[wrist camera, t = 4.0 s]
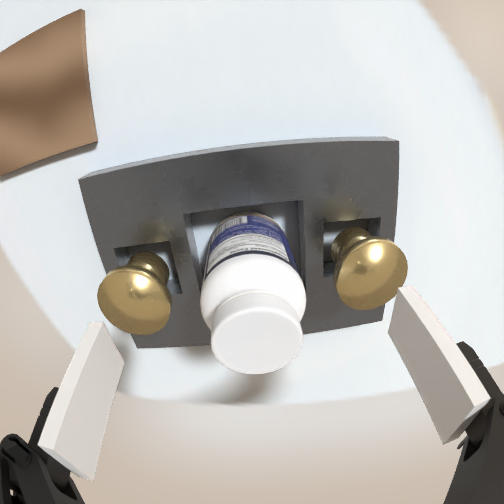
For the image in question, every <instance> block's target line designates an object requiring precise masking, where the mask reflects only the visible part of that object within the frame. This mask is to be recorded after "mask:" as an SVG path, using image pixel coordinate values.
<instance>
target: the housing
mask: <svg viewBox="0 0 504 504" xmlns="http://www.w3.org/2000/svg"><path fill="white" fill-rule="evenodd" d="M78 180H79V184H80V189H81V193H82V196H83V200H84V204H85V208H86V211H87V215H88V218H89V222H90V225H91V229H92V232H93V235H94V238H95V241H96V245H97V248H98V251H99V254H100V257H101V260H102V263H103V265H104V268H105V271H106V274H108V273H109V272H110V271H111V270H112V269H114V268H116V267H119V266H124V265H126V264H127V263H128V261H129V259H130V258H129V255H128V252H127V248H126V247H127V246H134V245H141V244H149V243H156V242H163V241H170V245H171V250H172V254H173V258H174V262H175V266H176V270H177V273H178V277H179V279H174V280H168V283H167V287H168V289H169V291H170V294H171V298H172V308H171V311H170V315H169V319H168V321H167V323H166V324H165V326H164V327H163V328H162V329H160V330H159V331H157V332H155V333H152V334H148V335H137V334H131V336H132V338H133V340H134V342H135V344H136V347H137V348H162V347H182V346H198V345H211V330H210V329H209V327H208V326H207V324H206V323H205V321H204V319H203V316H202V313H201V306H200V298H201V290H202V284H203V276H202V272H201V267H200V263H199V258H198V253H197V248H196V243H195V238H194V233H193V228H192V223H191V218H190V213H194V212H202V211H209V210H217V209H225V208H233V207H241V206H250V205H259V204H268V203H277V202H287V201H297V200H298V216H299V238H300V265H301V279H302V282H303V285H304V289H305V293H306V307H305V311H304V315H303V317H302V319H301V321H300V324H301V328H302V333H303V334H309V333H316V332H322V331H328V330H334V329H340V328H346V327H351V326H357V325H362V324H368V323H373V322H378V321H382V318H383V313H384V308H385V304H383V305H382V306H379V307H377V308H374V309H370V310H357V309H353V308H351V307H349V306H347V305H346V304H345V303H344V302H343V301H342V300H341V298H340V296H339V294H338V292H337V290H336V288H335V285H334V279H333V275H334V269H335V266H336V264H335V262H334V261H330V262H323V223H325V222H335V221H345V220H355V219H365V218H369V224H368V233H369V234H370V235H371V236H372V237H374V236H378V237H384V238H387V239H389V240H391V241H392V242H393V243H394V237H395V226H396V215H397V200H398V180H399V141H398V140H394V139H391V138H387V137H335V138H312V139H296V140H283V141H271V142H261V143H251V144H242V145H234V146H226V147H218V148H211V149H204V150H198V151H191V152H185V153H179V154H174V155H168V156H163V157H157V158H152V159H147V160H142V161H137V162H133V163H128V164H124V165H119V166H115V167H111V168H107V169H102V170H98V171H94V172H91V173H89V174H87V175H86V176H84V177H82V178H80V179H78Z"/></svg>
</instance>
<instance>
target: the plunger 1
mask: <svg viewBox="0 0 504 504" xmlns="http://www.w3.org/2000/svg"><path fill="white" fill-rule="evenodd" d="M168 280H169V268H168V266H167V264H166V263H165V261H164V260H163V259H162V258H161V257H159V256H158V255H156V254H154V253H151V252H139V253H136V254H134V255H133V256H132V257H131V258H130V259H129V261H128V263H127V264H126V265H124V266H119V267H116V268H114V269H112V270H111V271H110V272H109V273H108V274H107V275H106V277H105V278H104V280H103V281H102V283H101V284H100V286H99V289H98V294H97V298H98V304H99V307H100V309H101V311H102V313H103V314H104V316H105V317H106V318H107V319H108V320H109V321H110V322H111V323H112V324H113V325H114V326H116V327H117V328H119V329H121V330H123V331H125V332H128V333H131V334H137V335H148V334H152V333H155V332H157V331H159V330H160V329H162V328H163V327H164V326H165V324H166V323H167V321H168V319H169V315H170V311H171V308H172V298H171V294H170V291H169V289H168V287H167V283H168Z"/></svg>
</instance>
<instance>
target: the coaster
mask: <svg viewBox="0 0 504 504" xmlns="http://www.w3.org/2000/svg"><path fill="white" fill-rule="evenodd" d="M97 141H98V138H97V132H96V126H95V120H94V114H93V107H92V100H91V92H90V83H89V74H88V64H87V51H86V34H85V11H84V10H82V9H79V10H77V11H75V12H73V13H70V14H68V15H66V16H64V17H62V18H60V19H58V20H56V21H54V22H52V23H50V24H48V25H46V26H44V27H42V28H40V29H38V30H37V31H35V32H33V33H31V34H30V35H28V36H26V37H24V38H23V39H21V40H19V41H18V42H16V43H15V44H13V45H11V46H10V47H8V48H7V49H5V50H4V51H2V52H1V53H0V176H2V175H4V174H6V173H9V172H11V171H13V170H16V169H18V168H21V167H23V166H26V165H28V164H31V163H33V162H36V161H39V160H41V159H44V158H47V157H50V156H53V155H55V154H58V153H61V152H64V151H67V150H70V149H74V148H77V147H80V146H83V145H87V144H90V143H93V142H97Z"/></svg>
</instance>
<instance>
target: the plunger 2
mask: <svg viewBox="0 0 504 504" xmlns="http://www.w3.org/2000/svg"><path fill="white" fill-rule="evenodd" d="M331 256H332V258H333V260H334V262H335V264H336V266H335V269H334V275H333V279H334V285H335V288H336V290H337V292H338V294H339V296H340V298H341V300H342V301H343V302H344V303H345V304H346V305H347V306H349V307H351V308H353V309H357V310H370V309H374V308H377V307H379V306H382V305H383V304H385V303H387V302H388V301H390V300H391V299H392V298H393V297H394V296H395V295H396V294H397V290H398V288H399V287H402V286H403V284H404V282H405V279H406V276H407V270H408V266H407V260H406V257H405V255H404V253H403V252H402V251H401V250H400V249H399V248H398V247H397V246H396V245H395V244H394V243H393V242H392V241H391V240H389V239H387V238H384V237H378V236H374V237H372V236H371V235H370V234H369V233H368V232H367V231H366V230H365V229H363V228H359V227H352V228H348V229H345V230H344V231H342V232H341V233H339V234H338V235H337V237H336V238H335V239H334V241H333V243H332V247H331Z"/></svg>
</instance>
